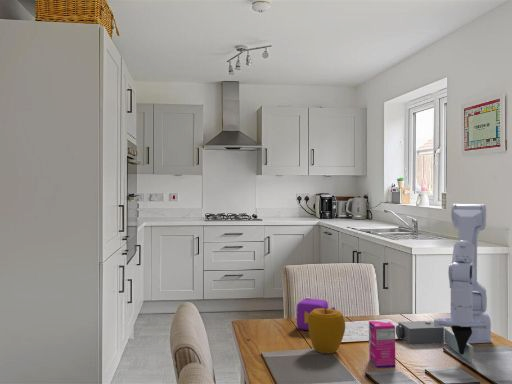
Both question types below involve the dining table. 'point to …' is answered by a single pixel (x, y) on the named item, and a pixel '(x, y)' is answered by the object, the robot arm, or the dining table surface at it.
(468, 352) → the side door
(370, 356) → the supplement box
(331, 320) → the apple
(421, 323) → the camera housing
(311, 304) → the toy camera
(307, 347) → the dining table surface
